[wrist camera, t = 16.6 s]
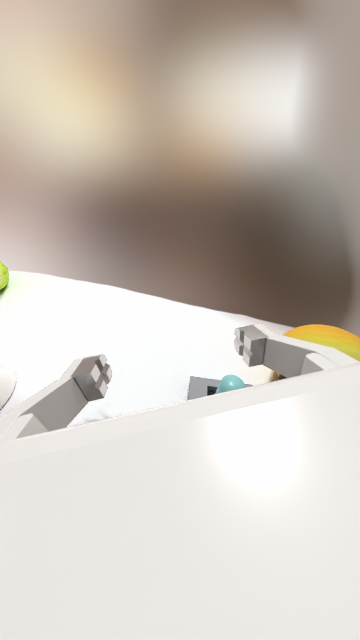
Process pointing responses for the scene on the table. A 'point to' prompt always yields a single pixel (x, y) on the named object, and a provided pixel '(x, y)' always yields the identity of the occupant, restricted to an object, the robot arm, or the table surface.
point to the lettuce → (3, 276)
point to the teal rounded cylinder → (230, 384)
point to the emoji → (327, 339)
